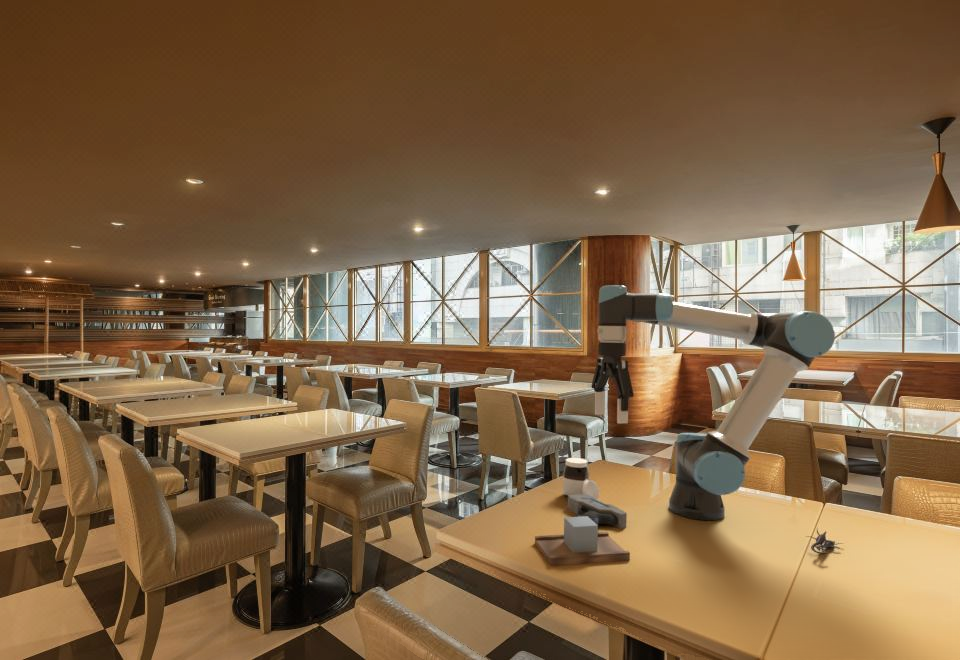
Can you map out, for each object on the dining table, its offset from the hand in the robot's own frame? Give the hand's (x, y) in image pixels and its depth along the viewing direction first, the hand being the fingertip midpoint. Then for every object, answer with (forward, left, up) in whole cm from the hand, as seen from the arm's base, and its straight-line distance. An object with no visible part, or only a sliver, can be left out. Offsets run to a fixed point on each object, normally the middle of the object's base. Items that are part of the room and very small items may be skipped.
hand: (610, 418), depth 140 cm
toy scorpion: (-45, +25, -29) cm, 59 cm away
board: (+15, +17, -29) cm, 36 cm away
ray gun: (+5, -3, -29) cm, 30 cm away
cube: (+15, +17, -27) cm, 35 cm away
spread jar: (0, -19, -29) cm, 35 cm away
